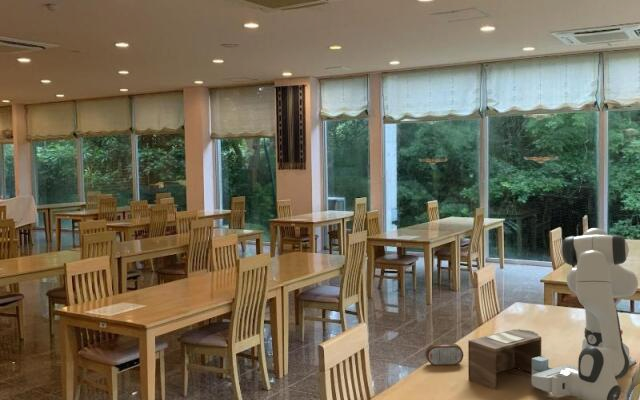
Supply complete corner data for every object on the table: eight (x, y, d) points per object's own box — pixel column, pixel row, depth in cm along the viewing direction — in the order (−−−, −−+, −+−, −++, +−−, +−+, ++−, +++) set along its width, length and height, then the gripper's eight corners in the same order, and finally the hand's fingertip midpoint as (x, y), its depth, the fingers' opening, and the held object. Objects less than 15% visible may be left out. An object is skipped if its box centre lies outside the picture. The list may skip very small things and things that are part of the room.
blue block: (538, 383, 229) (539, 356, 229) (548, 386, 226) (548, 359, 225) (531, 385, 227) (531, 358, 227) (540, 389, 224) (541, 361, 223)
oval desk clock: (462, 363, 258) (462, 342, 257) (464, 365, 255) (464, 345, 254) (425, 364, 257) (425, 343, 257) (427, 366, 254) (426, 346, 254)
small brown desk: (514, 366, 252) (514, 328, 251) (541, 375, 242) (541, 335, 241) (468, 379, 239) (468, 339, 238) (494, 389, 228) (494, 348, 227)
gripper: (590, 366, 221) (556, 356, 232) (552, 378, 210) (519, 367, 221) (590, 384, 221) (556, 373, 233) (552, 397, 210) (519, 384, 222)
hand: (537, 370), depth 227 cm, fingers closed on blue block, 4 cm apart
